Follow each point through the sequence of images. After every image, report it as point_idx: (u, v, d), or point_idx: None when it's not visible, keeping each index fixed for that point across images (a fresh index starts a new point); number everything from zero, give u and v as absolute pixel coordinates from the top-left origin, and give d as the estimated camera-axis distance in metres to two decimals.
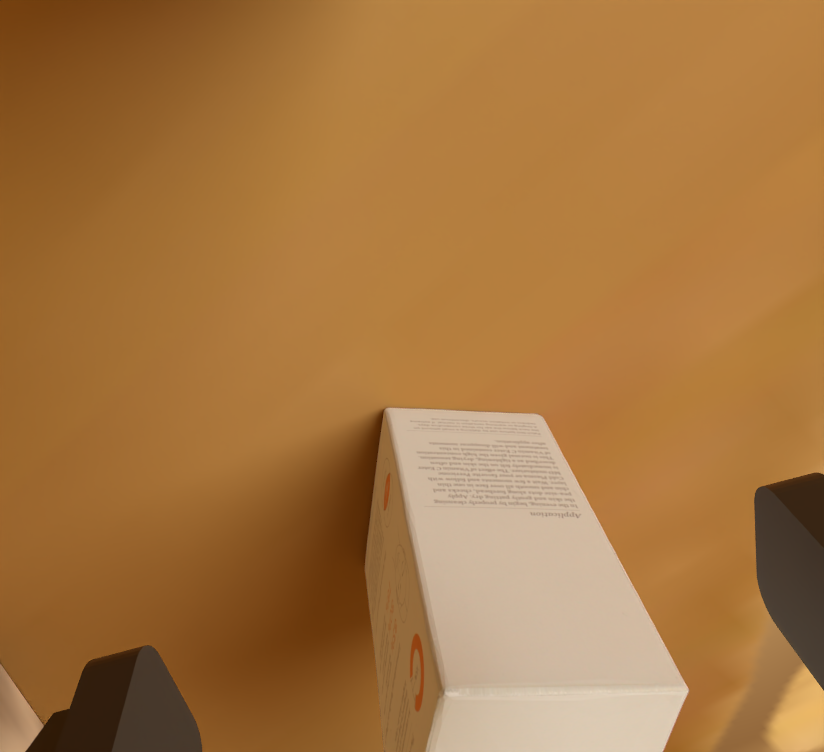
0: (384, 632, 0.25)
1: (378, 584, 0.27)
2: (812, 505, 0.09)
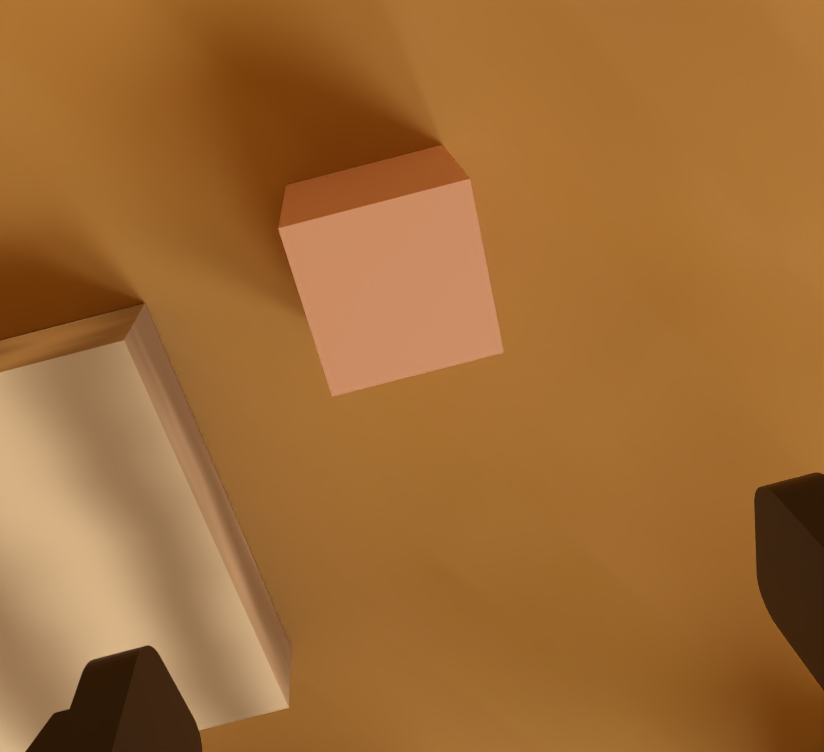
0: None
1: None
2: (812, 505, 0.09)
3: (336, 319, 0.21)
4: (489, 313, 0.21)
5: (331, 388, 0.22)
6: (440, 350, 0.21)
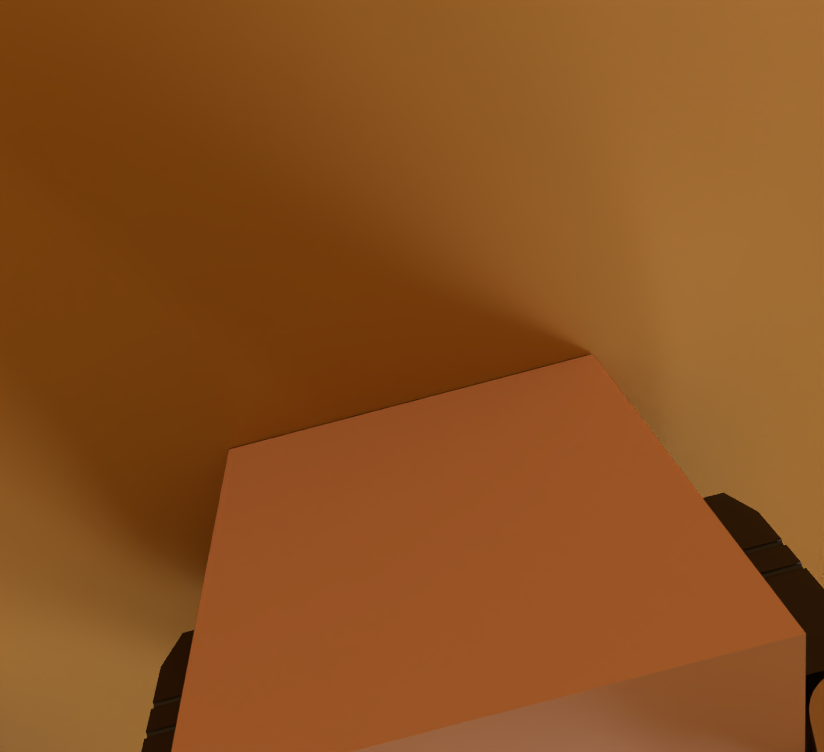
0: None
1: None
2: None
3: None
4: None
5: None
6: None
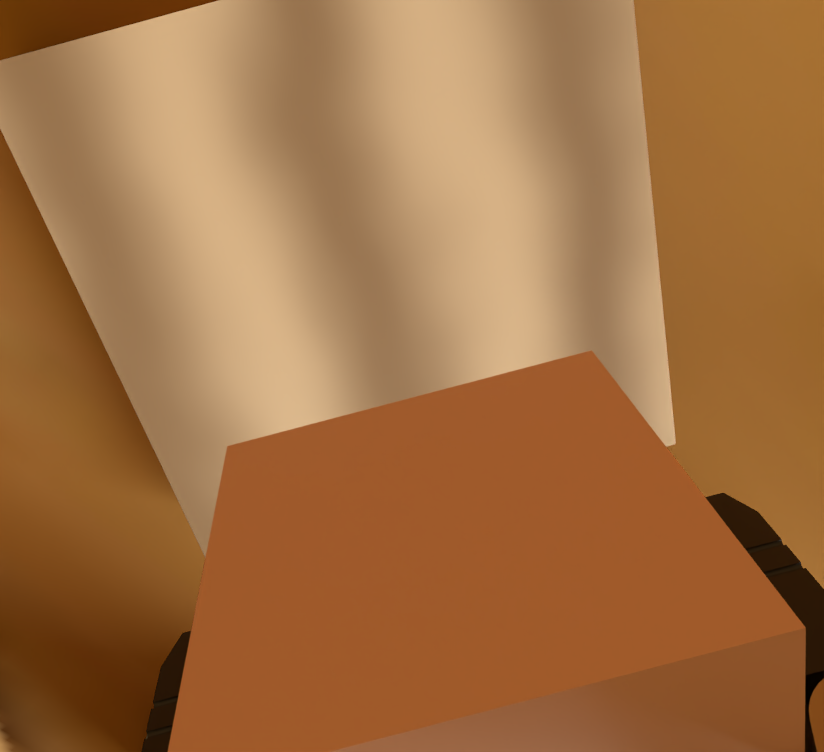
0: None
1: None
2: None
3: None
4: None
5: None
6: None
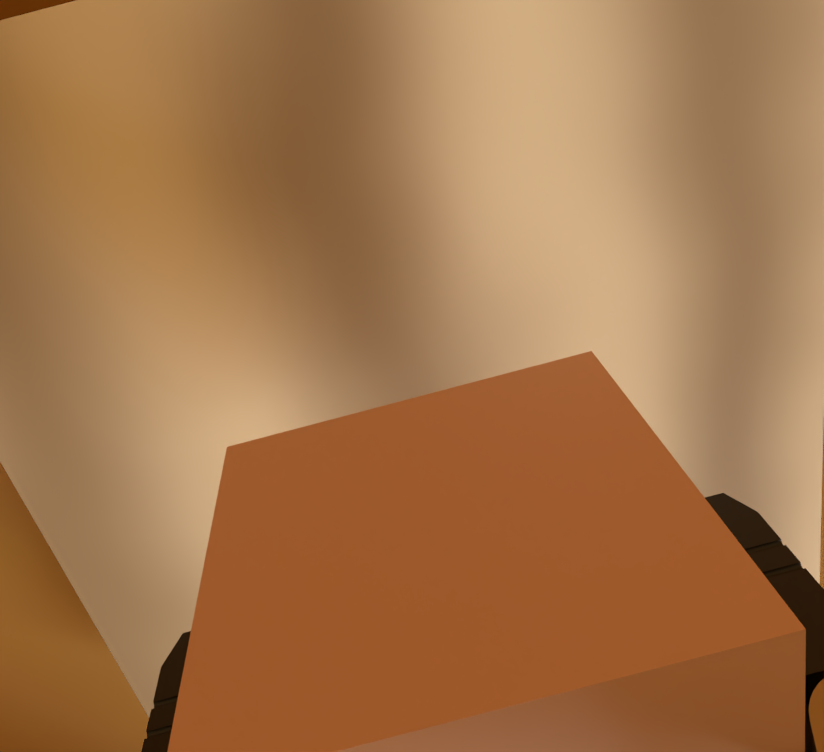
0: None
1: None
2: None
3: None
4: None
5: None
6: None
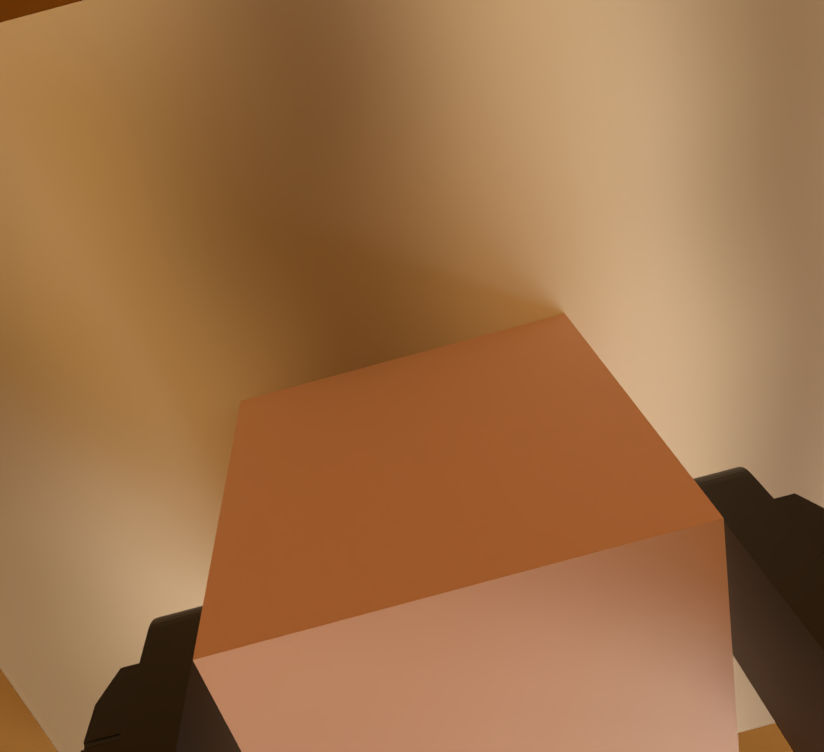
0: None
1: None
2: (731, 497, 0.09)
3: None
4: None
5: None
6: None
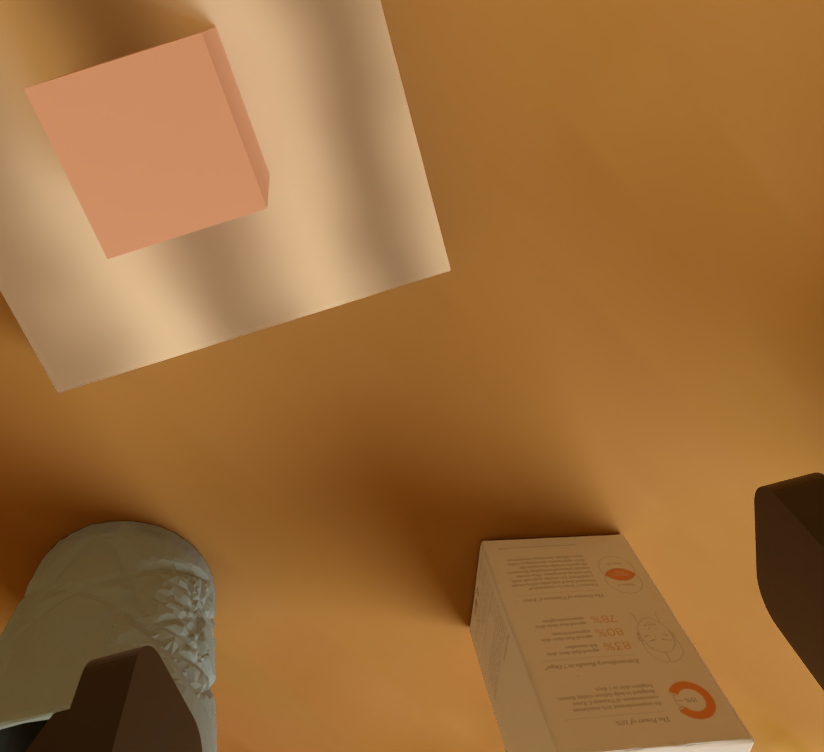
0: (576, 623, 0.35)
1: (561, 589, 0.37)
2: (812, 505, 0.09)
3: (98, 179, 0.22)
4: (245, 168, 0.22)
5: (105, 251, 0.23)
6: (204, 208, 0.23)
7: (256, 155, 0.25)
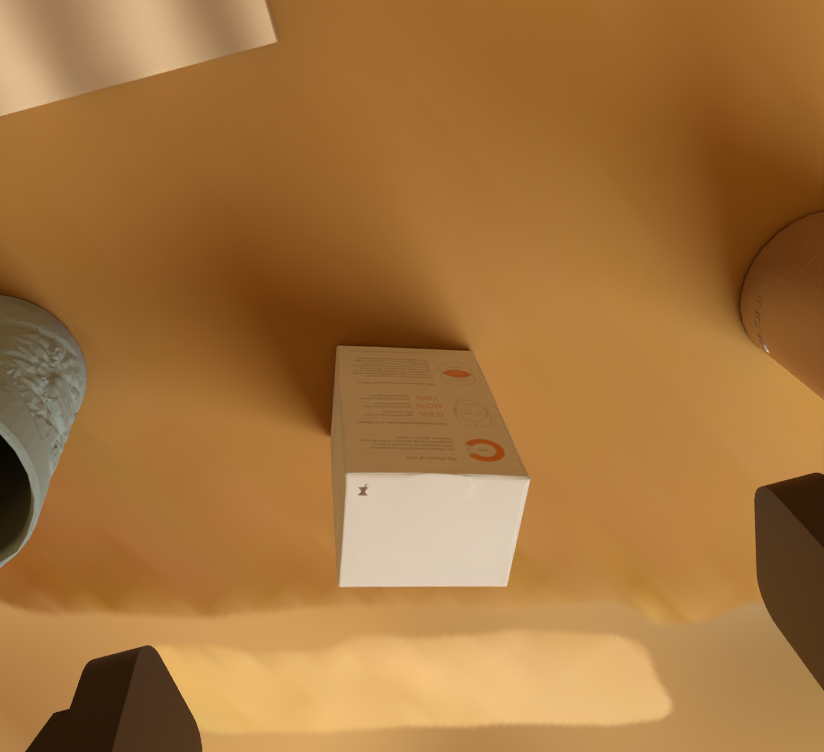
0: (399, 398, 0.38)
1: (396, 378, 0.40)
2: (812, 505, 0.09)
3: None
4: None
5: None
6: None
7: None
